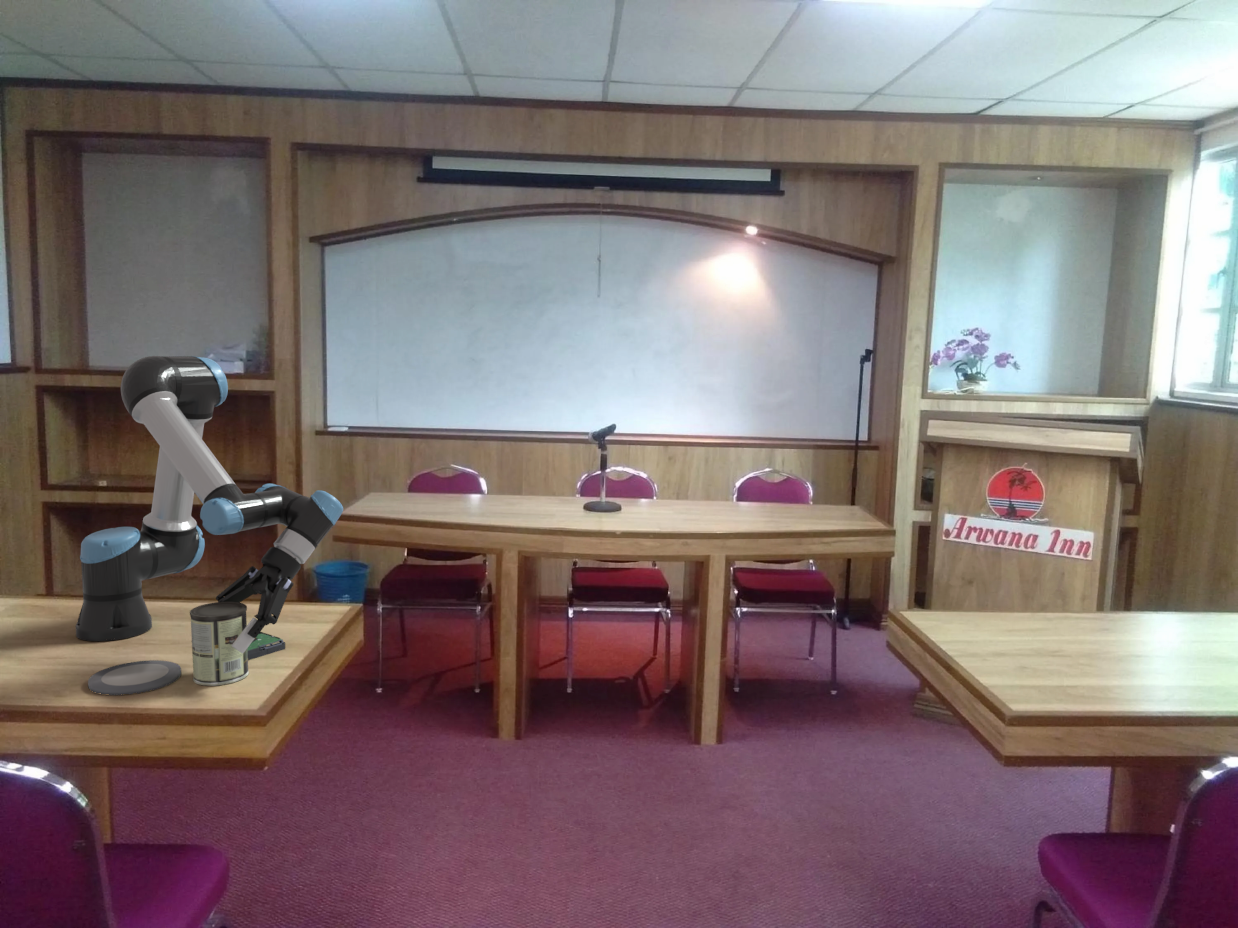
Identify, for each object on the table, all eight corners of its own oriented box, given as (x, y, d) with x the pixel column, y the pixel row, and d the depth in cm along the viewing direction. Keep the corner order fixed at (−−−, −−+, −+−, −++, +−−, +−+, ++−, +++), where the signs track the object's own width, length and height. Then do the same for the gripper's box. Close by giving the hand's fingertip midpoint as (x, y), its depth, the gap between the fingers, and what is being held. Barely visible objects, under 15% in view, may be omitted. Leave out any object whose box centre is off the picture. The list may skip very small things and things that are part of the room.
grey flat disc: (67, 691, 161) (67, 685, 161) (128, 662, 177) (128, 657, 177) (144, 698, 159) (143, 692, 159) (198, 668, 175) (198, 663, 174)
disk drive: (203, 650, 187) (244, 663, 179) (203, 638, 187) (243, 650, 179) (246, 638, 196) (286, 650, 188) (246, 626, 195) (286, 638, 187)
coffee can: (216, 665, 177) (213, 599, 175) (259, 670, 174) (257, 603, 173) (180, 682, 167) (177, 613, 165) (225, 688, 164) (223, 618, 163)
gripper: (332, 575, 174) (265, 666, 164) (268, 556, 189) (203, 637, 179) (308, 554, 169) (238, 646, 159) (244, 536, 184) (176, 619, 174)
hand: (219, 642), depth 169 cm, fingers open, 13 cm apart
